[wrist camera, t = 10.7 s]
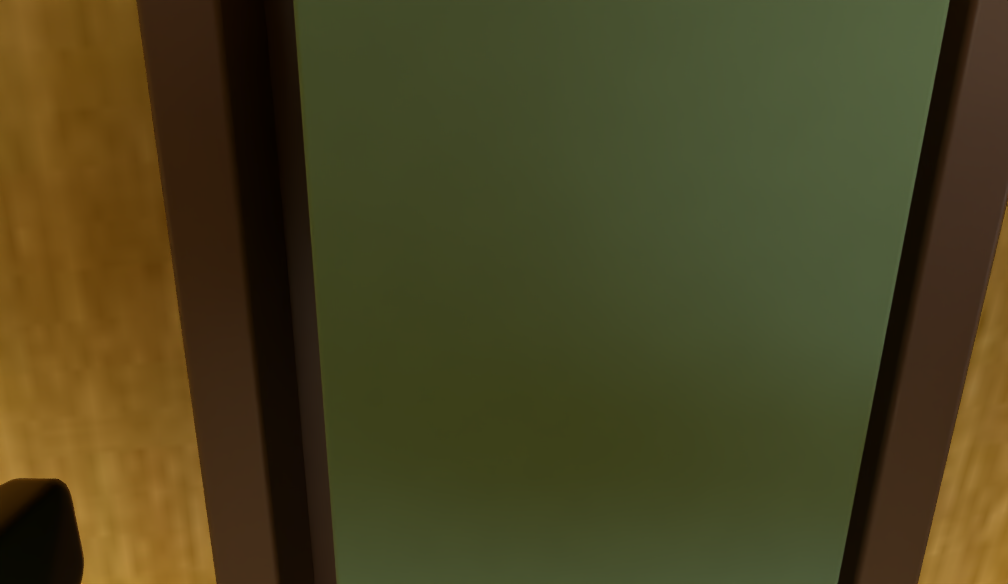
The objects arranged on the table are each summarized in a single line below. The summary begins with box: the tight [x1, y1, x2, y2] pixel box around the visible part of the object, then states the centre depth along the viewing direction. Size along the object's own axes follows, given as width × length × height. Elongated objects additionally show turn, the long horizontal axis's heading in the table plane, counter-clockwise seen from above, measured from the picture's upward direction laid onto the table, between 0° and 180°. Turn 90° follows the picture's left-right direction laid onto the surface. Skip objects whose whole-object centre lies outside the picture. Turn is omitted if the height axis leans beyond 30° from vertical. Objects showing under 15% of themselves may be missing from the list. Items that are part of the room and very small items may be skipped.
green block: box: [293, 0, 950, 584], centre depth 11 cm, size 9×5×4 cm, turn 179°
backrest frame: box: [136, 0, 1008, 584], centre depth 12 cm, size 9×13×2 cm
